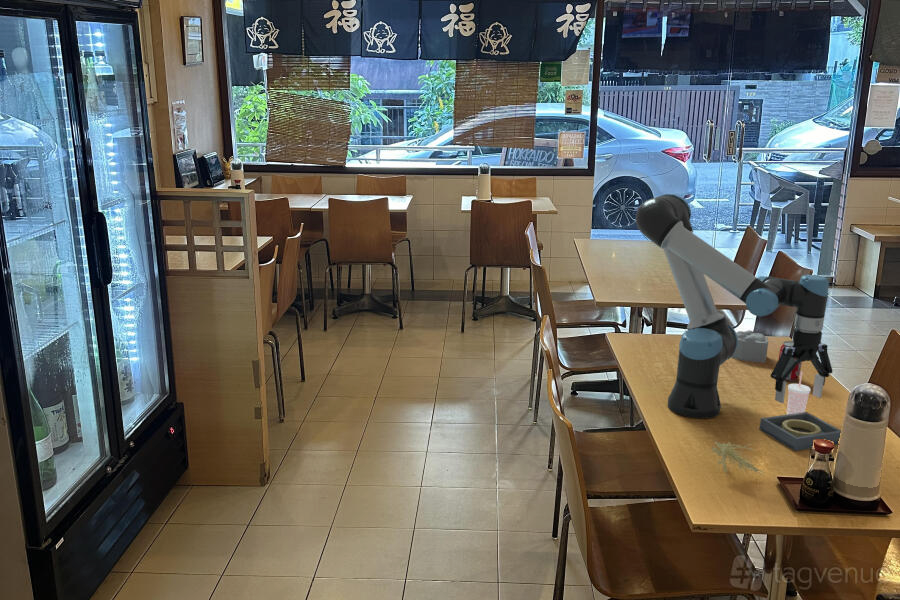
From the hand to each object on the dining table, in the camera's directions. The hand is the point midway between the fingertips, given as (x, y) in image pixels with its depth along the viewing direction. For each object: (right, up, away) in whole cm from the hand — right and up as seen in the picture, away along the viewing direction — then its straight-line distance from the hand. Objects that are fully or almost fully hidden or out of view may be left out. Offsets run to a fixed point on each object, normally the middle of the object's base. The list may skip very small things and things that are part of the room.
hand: (798, 398), depth 237 cm
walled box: (-5, -9, -12) cm, 16 cm away
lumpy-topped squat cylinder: (+4, +9, +52) cm, 53 cm away
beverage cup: (0, -5, +2) cm, 6 cm away
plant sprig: (-30, -15, -34) cm, 48 cm away
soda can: (+10, +3, +32) cm, 33 cm away
